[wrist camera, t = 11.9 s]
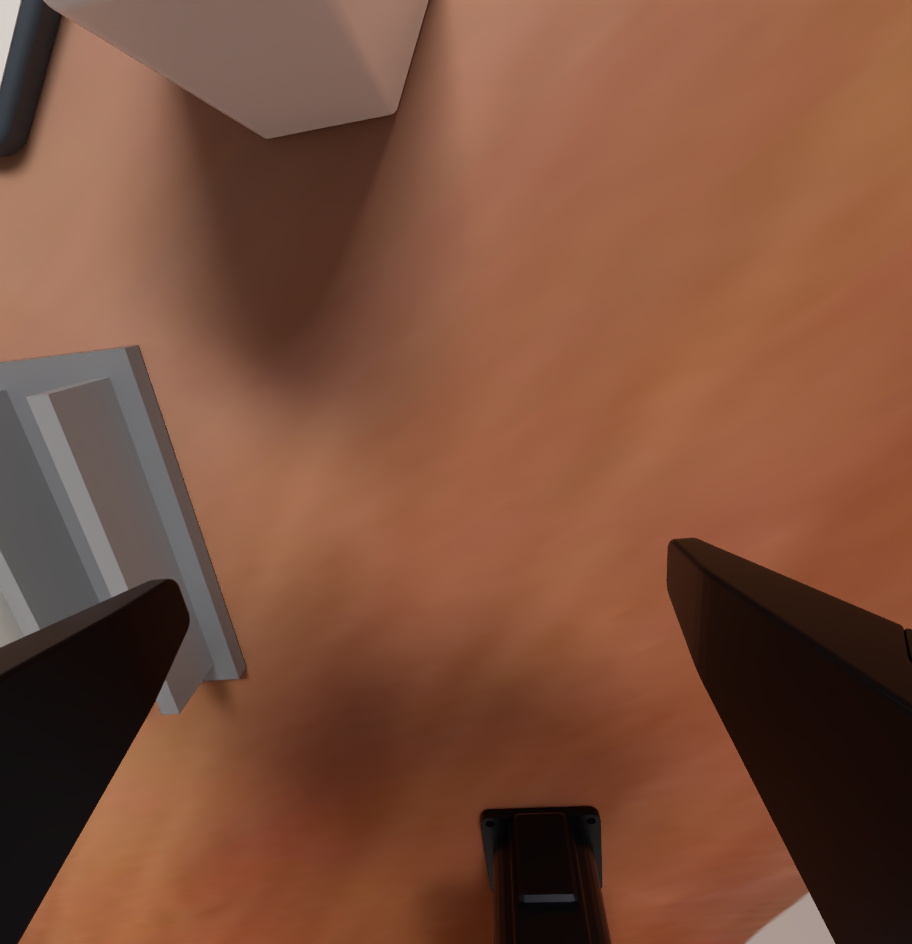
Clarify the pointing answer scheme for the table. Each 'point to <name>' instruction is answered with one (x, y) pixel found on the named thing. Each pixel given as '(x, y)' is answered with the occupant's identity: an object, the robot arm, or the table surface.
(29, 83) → the phone case
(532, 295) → the table surface
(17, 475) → the dish rack
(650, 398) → the table surface
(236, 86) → the jar
